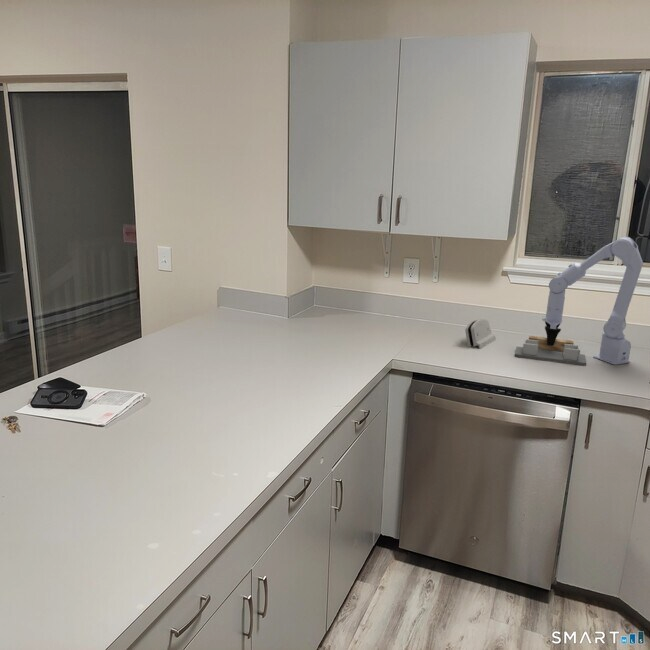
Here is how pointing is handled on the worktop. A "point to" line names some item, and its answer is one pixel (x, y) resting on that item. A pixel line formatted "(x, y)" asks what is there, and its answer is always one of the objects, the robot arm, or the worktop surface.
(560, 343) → the rail
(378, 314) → the worktop surface
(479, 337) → the grey stand
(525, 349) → the bracket board
